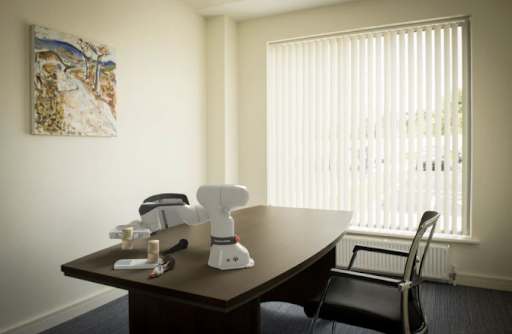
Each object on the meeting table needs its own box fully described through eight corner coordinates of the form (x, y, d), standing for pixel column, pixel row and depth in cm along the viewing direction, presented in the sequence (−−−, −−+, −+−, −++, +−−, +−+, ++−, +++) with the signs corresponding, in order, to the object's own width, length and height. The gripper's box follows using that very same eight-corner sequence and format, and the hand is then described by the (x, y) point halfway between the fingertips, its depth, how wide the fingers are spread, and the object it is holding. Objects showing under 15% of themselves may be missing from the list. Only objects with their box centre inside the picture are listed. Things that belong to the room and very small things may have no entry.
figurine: (177, 251, 176) (152, 267, 159) (180, 265, 176) (156, 281, 160) (164, 253, 179) (139, 268, 163) (168, 266, 179) (143, 283, 163)
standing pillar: (158, 260, 182) (158, 239, 181) (157, 263, 177) (157, 242, 177) (149, 260, 181) (149, 240, 181) (147, 263, 177) (147, 242, 176)
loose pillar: (133, 246, 190) (132, 227, 190) (131, 249, 186) (131, 229, 186) (124, 247, 190) (123, 227, 189) (122, 249, 185) (121, 229, 185)
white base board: (162, 261, 185) (162, 258, 185) (159, 268, 175) (159, 264, 175) (118, 262, 182) (118, 259, 182) (113, 269, 172) (112, 266, 172)
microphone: (165, 262, 195) (189, 248, 212) (167, 252, 193) (191, 239, 211) (157, 257, 197) (181, 244, 214) (159, 248, 195) (183, 235, 213)
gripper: (152, 236, 202) (148, 243, 188) (113, 237, 199) (106, 244, 186) (152, 225, 202) (148, 230, 188) (113, 226, 199) (106, 231, 185)
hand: (127, 237), depth 187 cm, fingers closed on loose pillar, 4 cm apart
